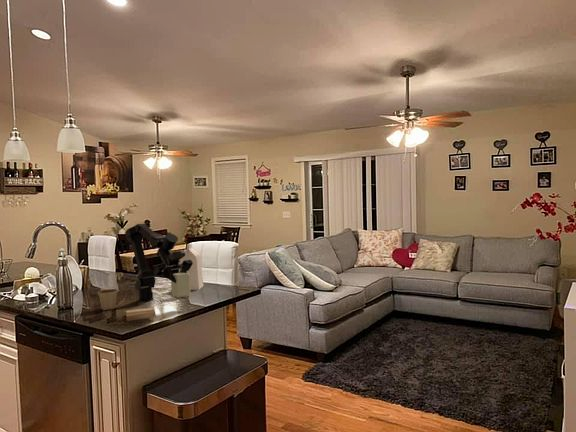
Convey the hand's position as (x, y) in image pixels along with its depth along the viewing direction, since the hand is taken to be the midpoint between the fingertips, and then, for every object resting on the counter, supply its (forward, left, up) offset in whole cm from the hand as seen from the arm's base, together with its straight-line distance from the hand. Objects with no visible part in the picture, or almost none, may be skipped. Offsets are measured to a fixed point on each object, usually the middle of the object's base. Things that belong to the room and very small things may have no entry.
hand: (181, 281), depth 203 cm
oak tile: (-13, -13, -14) cm, 23 cm away
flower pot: (-39, -3, -14) cm, 42 cm away
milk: (-23, +48, -14) cm, 55 cm away
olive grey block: (-17, +28, -14) cm, 35 cm away
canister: (-1, +1, -7) cm, 7 cm away
